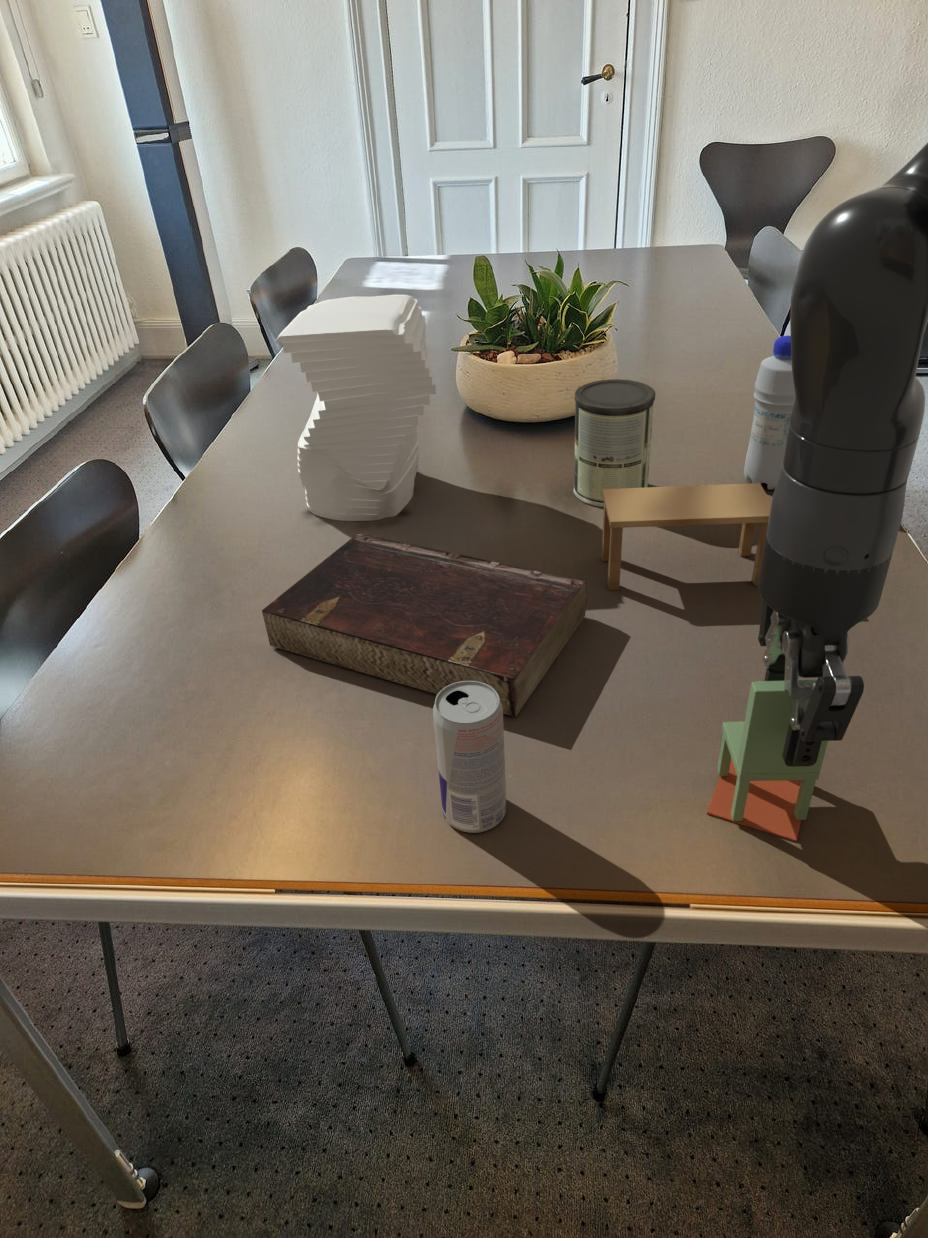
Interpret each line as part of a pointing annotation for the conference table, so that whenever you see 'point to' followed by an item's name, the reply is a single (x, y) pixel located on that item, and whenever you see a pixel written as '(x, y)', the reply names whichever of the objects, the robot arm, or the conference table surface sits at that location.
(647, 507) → the model table
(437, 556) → the hardback book
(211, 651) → the conference table surface
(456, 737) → the energy drink
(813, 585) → the robot arm
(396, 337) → the paper stack
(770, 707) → the chair
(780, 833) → the felt mat
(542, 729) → the conference table surface
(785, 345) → the bottle
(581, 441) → the coffee can
